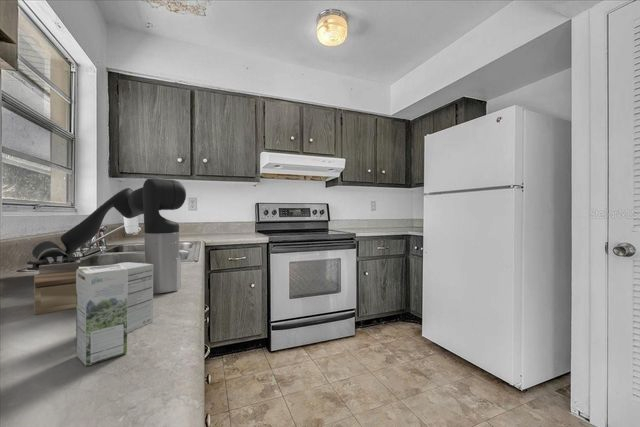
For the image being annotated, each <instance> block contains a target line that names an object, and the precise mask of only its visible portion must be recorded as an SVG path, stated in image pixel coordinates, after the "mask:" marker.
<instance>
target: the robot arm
mask: <svg viewBox="0 0 640 427" xmlns="http://www.w3.org/2000/svg"><path fill="white" fill-rule="evenodd" d="M186 198H187V191H186V188H185V186H184V185H183V183H181V182H180V181H178V180H175V179H166V178H165V179H164V178H163V179H162V178H147V179H145V181H144V183H143V184H142V187H139V188H137V189H135V190H133V189H132V188H129V187H127V188H124V189H121V190H120V191H118V192H117V193H115V194H113V195H112V196H111V197H110V198H109V199H107V200H106V201H105V202H104V203H103V204H101V205H100V206H99V207H98V208H96V209H95V210H94V211H92V213H90V214H89V215H88V216H87V217H86V218H85V219H83V220H82V221H81V222H79V223H78V224H76V225H75V226H74V227H72V228H70V229H69V230H67V231H66V232H65V233H63V234H61V236H60V238H59V239H60V241H61V243H62V244H63V245H64V247H65V250H63V249H62V248H61V247H60V246H59V245H57V243H55V242H53V241H52V240H51V241H50V240H46V241H42V242H40V243H38V244H37V245H36V246H35V247H33V250H32V252H31V255H32V257H34V258H35V259H36V260H34V261H32V260H29V261H26V270H27V271H39V266H41V265H52V264H63V263H73V262H78V263H79V266H80V265H81V257H80V256H76V257H72V256H73V254H74V253H75V252H76V251H77V250H78V249H80V248H81V247H83V245H85V244H87V243H88V242H90V240H92V239H94V237H96V235H97V234H99V233H98V232H99V231H100V228H101V226H102V223H103V220H104V218H105V217H106V215H107V214H108V212H109V211H111V209H112V208H114V209H115V210H116V211H117V212H119V214H120V215H122V216H123V217H124V218H126V219H133V218H136V217H138V216H140V215H143V224H144V225H143V227H144V232H143V233H144V239H143V240H144V264H153V294H163V293H164V294H165V293H170V292H177V291H178V290H180V288H181V286H182V257H181V255H180V224H179V222H177V221H174V220H170V219H167V218H165V217H164V216H163V215H161V214H160V211H175V210H179V209H180V208H181V207H182V206H183V205H184V203H185V201H186Z"/></svg>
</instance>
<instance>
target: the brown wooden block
mask: <svg viewBox="0 0 640 427" xmlns="http://www.w3.org/2000/svg"><path fill="white" fill-rule="evenodd" d="M79 267H80V265H79V263H78V262H73V263H63V264H52V265H41V266H39V270H38V274H37V273H36V274H33V286H34V285H35V287H42V286H49V285H57V284H65V283H73V282H76V270H77V269H80V268H79Z"/></svg>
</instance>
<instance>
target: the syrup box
mask: <svg viewBox="0 0 640 427" xmlns="http://www.w3.org/2000/svg"><path fill="white" fill-rule="evenodd" d="M127 291H128V270H127V269H126V268H125V267H123V266H121V265H118V263H115V264H114V265H113V264H106V265H99V266H91V267H81V268H79V269H77V270H76V308H75V310H76V312H75V316H76V319H75V320H76V321H75V327H76V329H75V331H76V333H75V334H76V335H75V349H76V350H75V351H76V352H75V355H76V356H77V357H78V359H79V360H80V361H81V362H82V363H83V364H84V366H85V367H88V366H89V367H90V366H91V365H95V364H99V363H101V362H105V361H107V360H111V359H113V358H116V357H119V356H122V355H126V354H127V353H128V333H127Z"/></svg>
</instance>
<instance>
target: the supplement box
mask: <svg viewBox="0 0 640 427" xmlns="http://www.w3.org/2000/svg"><path fill="white" fill-rule="evenodd" d="M117 264H118V265H121V266H123V267H125V268H126V269H127V270H128V291H127V334H128V333H130V332H132V331H135V330H137V329H140V328H142V327H143V326H144V327H145V326H146V325H149V324H151V323H153V322H154V293H153V264H145V262H144V263H143V262H129V261H128V262H119V263H117ZM112 265H114V264H112Z"/></svg>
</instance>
